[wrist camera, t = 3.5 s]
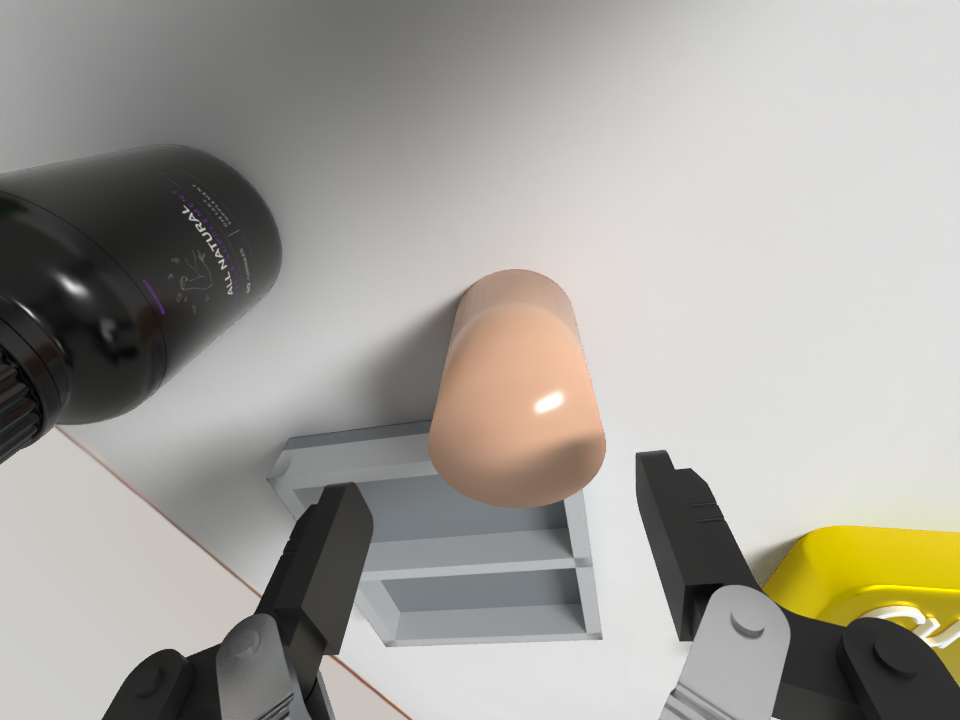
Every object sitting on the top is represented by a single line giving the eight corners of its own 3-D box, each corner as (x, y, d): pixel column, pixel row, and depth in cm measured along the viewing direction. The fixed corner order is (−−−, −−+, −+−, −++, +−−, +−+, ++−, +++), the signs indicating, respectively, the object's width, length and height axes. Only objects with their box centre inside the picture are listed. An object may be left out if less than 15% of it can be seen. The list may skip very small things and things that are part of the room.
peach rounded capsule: (568, 258, 18) (599, 368, 12) (580, 364, 21) (610, 500, 15) (442, 281, 19) (405, 395, 13) (470, 380, 22) (452, 514, 16)
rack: (569, 402, 23) (576, 444, 20) (595, 595, 33) (602, 639, 30) (290, 438, 25) (266, 478, 23) (394, 606, 35) (386, 647, 33)
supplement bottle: (317, 227, 18) (82, 422, 8) (244, 327, 21) (8, 559, 11) (155, 94, 16) (-450, 145, 6) (99, 229, 19) (-363, 412, 9)
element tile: (724, 631, 35) (751, 703, 32) (805, 517, 27) (855, 594, 23) (916, 646, 35) (967, 720, 31) (1060, 533, 26) (1156, 615, 22)
